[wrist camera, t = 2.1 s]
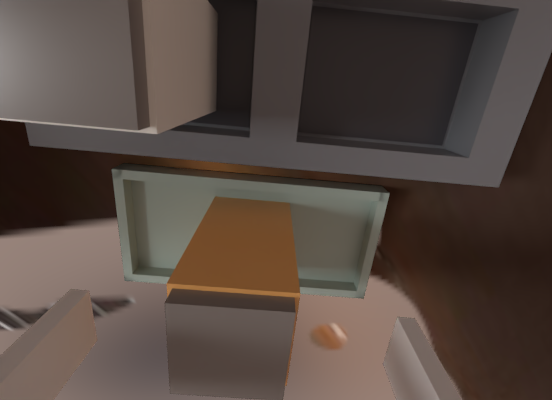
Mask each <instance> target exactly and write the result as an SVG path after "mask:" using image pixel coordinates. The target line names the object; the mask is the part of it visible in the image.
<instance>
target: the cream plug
mask: <svg viewBox="0 0 552 400" xmlns="http://www.w3.org/2000/svg"><path fill="white" fill-rule="evenodd" d="M217 30H218V13H217V12H216V10H215V9H214V8H213V7H212V5H211V4H210V3H209V2H208V0H0V120H7V121H18V122H29V123H40V124H51V125H62V126H73V127H83V128H94V129H105V130H116V131H127V132H138V133H149V134H159V133H162V132H164V131H167V130H169V129H172V128H174V127H177V126H179V125H182V124H184V123H187V122H189V121H192V120H194V119H197V118H199V117H202V116H204V115H207V114H209V113H212V112H214V111H216V92H217Z"/></svg>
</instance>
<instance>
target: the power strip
mask: <svg viewBox="0 0 552 400" xmlns="http://www.w3.org/2000/svg"><path fill="white" fill-rule="evenodd" d="M208 2H209V3H210V4H211V5H212V7H213V8H214V9H215V10H216V12H217V13H218V30H217V92H216V111H214V112H212V113H209V114H207V115H204V116H202V117H199V118H197V119H194V120H192V121H189V122H187V123H184V124H182V125H179V126H177V127H174V128H172V129H169V130H167V131H164V132H162V133H159V134H149V133H138V132H127V131H116V130H105V129H94V128H83V127H73V126H62V125H51V124H40V123H29V122H25V125H26V130H27V135H28V139H29V144H30V146H39V147H51V148H62V149H73V150H84V151H95V152H107V153H118V154H129V155H140V156H152V157H163V158H174V159H185V160H196V161H208V162H219V163H230V164H241V165H252V166H264V167H275V168H286V169H297V170H309V171H320V172H331V173H342V174H353V175H365V176H376V177H387V178H398V179H410V180H421V181H432V182H443V183H454V184H466V185H477V186H488V187H499V185H500V183H501V180H502V178H503V175H504V172H505V170H506V167H507V165H508V162H509V160H510V157H511V155H512V152H513V149H514V147H515V144H516V142H517V139H518V137H519V134H520V132H521V129H522V126H523V124H524V121H525V119H526V116H527V114H528V111H529V108H530V106H531V103H532V101H533V98H534V96H535V93H536V91H537V88H538V85H539V83H540V80H541V78H542V75H543V73H544V70H545V68H546V65H547V62H548V60H549V57H550V55H551V52H552V0H208Z"/></svg>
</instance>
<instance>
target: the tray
mask: <svg viewBox="0 0 552 400" xmlns="http://www.w3.org/2000/svg"><path fill="white" fill-rule="evenodd" d="M112 176H113V185H114V193H115V202H116V211H117V219H118V228H119V236H120V245H121V252H122V262H123V270H124V278H125V281H136V282H149V283H162V284H167V282H168V280H169V278H170V276H171V275H172V273H173V271H174V269H175V268H176V266H177V264H178V262H179V260H180V259H181V257H182V255H183V253H184V251H185V250H186V248H187V246H188V244H189V242H190V241H191V239H192V237H193V235H194V233H195V232H196V230H197V228H198V226H199V224H200V223H201V221H202V219H203V217H204V215H205V214H206V212H207V210H208V208H209V206H210V205H211V203H212V201H213V199H214V197H215V196H216V197H228V198H240V199H251V200H263V201H275V202H287V203H290V210H291V218H292V227H293V235H294V244H295V252H296V261H297V269H298V278H299V286H300V294H309V295H310V294H311V295H322V296H336V297H349V298H364V295H365V291H366V287H367V283H368V279H369V275H370V271H371V267H372V263H373V259H374V255H375V251H376V247H377V243H378V239H379V235H380V231H381V227H382V223H383V219H384V215H385V211H386V207H387V203H388V199H389V195H390V193H389V192H388V191H387V190H386V189H385V188H384V187H382V186H379V185H367V184H356V183H345V182H333V181H322V180H311V179H299V178H288V177H277V176H265V175H254V174H243V173H231V172H220V171H209V170H197V169H186V168H174V167H163V166H152V165H140V164H129V163H123V164H121V165H119V166H117V167H115V168H113V169H112Z"/></svg>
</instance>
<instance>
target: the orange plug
mask: <svg viewBox="0 0 552 400" xmlns="http://www.w3.org/2000/svg"><path fill="white" fill-rule="evenodd" d="M299 299H300V286H299V278H298V269H297V261H296V252H295V244H294V235H293V227H292V218H291V210H290V203H287V202H275V201H263V200H251V199H240V198H228V197H216V196H215V197H214V199H213V201H212V203H211V205H210V206H209V208H208V210H207V212H206V214H205V215H204V217H203V219H202V221H201V223H200V224H199V226H198V228H197V230H196V232H195V233H194V235H193V237H192V239H191V241H190V242H189V244H188V246H187V248H186V250H185V251H184V253H183V255H182V257H181V259H180V260H179V262H178V264H177V266H176V268H175V269H174V271H173V273H172V275H171V276H170V278H169V280H168V282H167V299H166V301H165V318H166V335H167V350H168V369H169V386H170V394H181V395H197V396H214V397H231V398H245V399H261V400H283V396H284V389H285V386H286V385H287V379H288V373H289V366H290V359H291V353H292V346H293V339H294V333H295V326H296V319H297V312H298V305H299Z"/></svg>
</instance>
